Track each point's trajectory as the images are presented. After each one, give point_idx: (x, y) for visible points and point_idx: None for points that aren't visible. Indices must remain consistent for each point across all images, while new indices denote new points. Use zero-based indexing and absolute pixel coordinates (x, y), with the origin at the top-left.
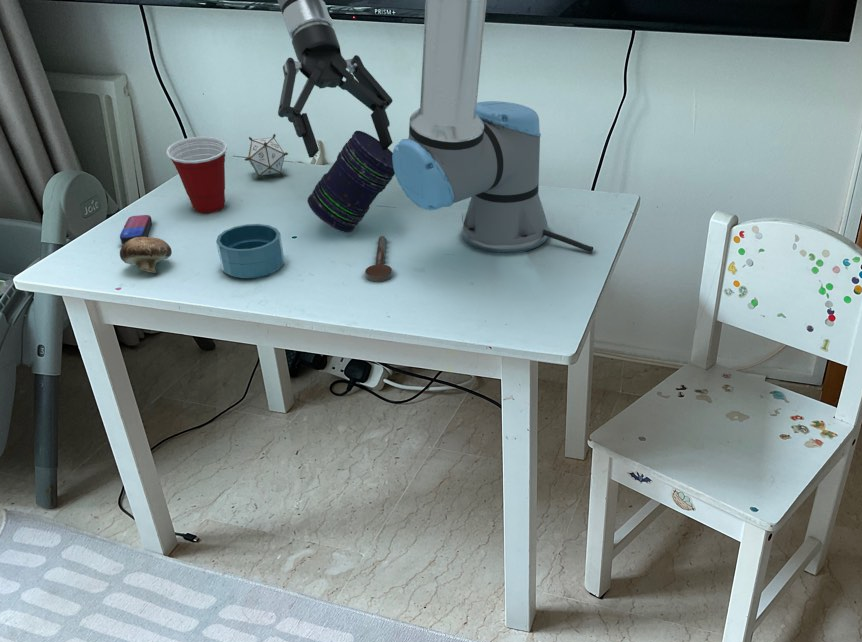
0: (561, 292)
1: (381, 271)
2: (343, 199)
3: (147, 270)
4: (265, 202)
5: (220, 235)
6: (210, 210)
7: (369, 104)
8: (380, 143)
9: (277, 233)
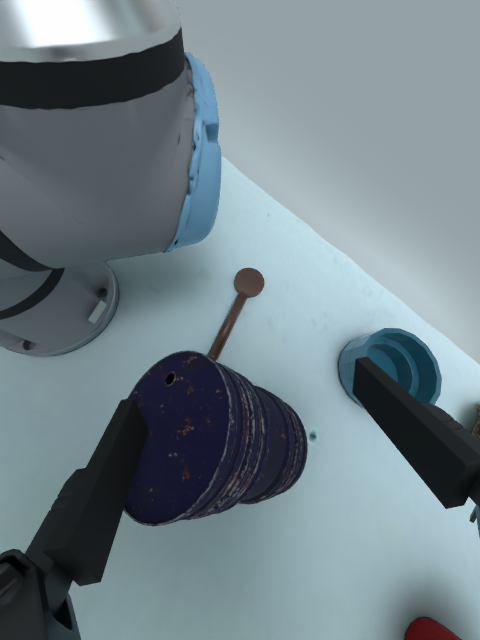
0: None
1: (248, 276)
2: (261, 390)
3: None
4: (333, 629)
5: (437, 392)
6: (428, 620)
7: (70, 637)
8: (142, 446)
9: None
